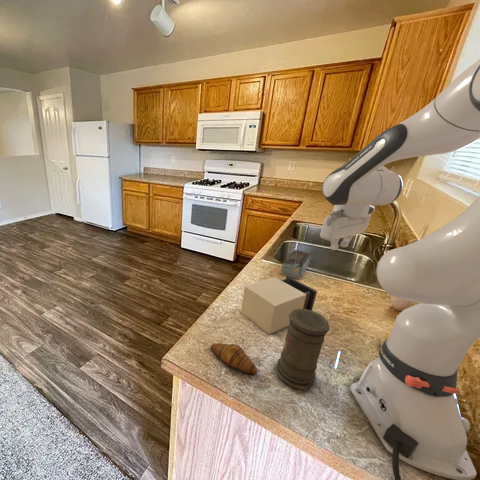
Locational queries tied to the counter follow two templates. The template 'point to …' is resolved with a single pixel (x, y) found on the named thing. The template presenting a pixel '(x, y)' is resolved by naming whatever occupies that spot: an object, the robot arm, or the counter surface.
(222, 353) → the croissant
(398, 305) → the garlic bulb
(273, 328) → the beige rectangular block
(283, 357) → the container
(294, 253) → the translucent blue-gray box
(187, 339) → the counter surface
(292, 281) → the angle bracket
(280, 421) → the counter surface
